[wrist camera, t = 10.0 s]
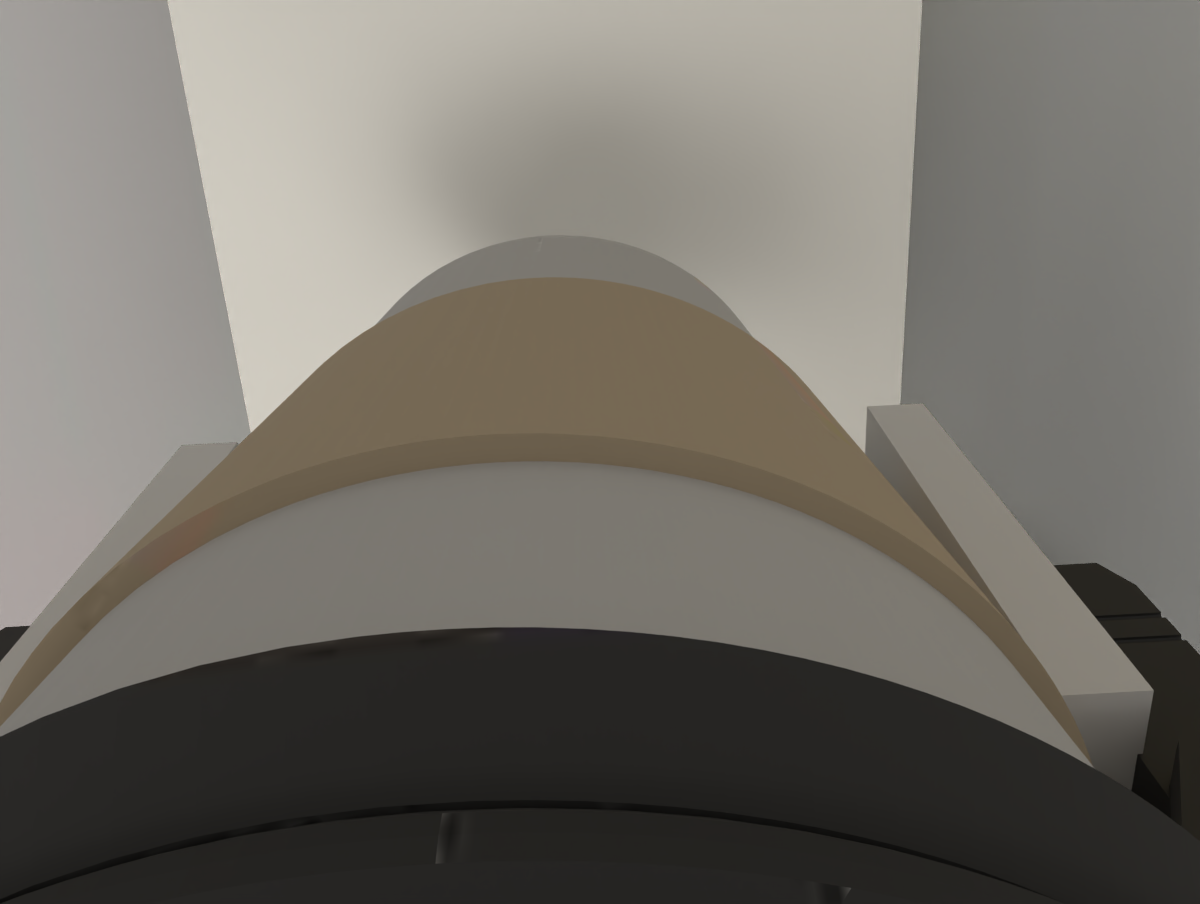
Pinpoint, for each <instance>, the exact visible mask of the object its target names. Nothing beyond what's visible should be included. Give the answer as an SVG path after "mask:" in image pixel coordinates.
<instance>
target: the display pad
mask: <svg viewBox="0 0 1200 904" xmlns="http://www.w3.org/2000/svg"><path fill="white" fill-rule="evenodd" d="M167 1H168V6H169V11H170V17H171V22H172V27H173V32H174V37H175V42H176V48H177V53H178V58H179V63H180V68H181V74H182V79H183V84H184V89H185V94H186V100H187V105H188V110H189V115H190V120H191V125H192V131H193V136H194V141H195V146H196V151H197V157H198V162H199V167H200V172H201V177H202V182H203V188H204V193H205V198H206V203H207V208H208V214H209V219H210V224H211V229H212V234H213V239H214V245H215V250H216V255H217V260H218V265H219V271H220V276H221V281H222V286H223V291H224V296H225V302H226V307H227V312H228V317H229V322H230V328H231V333H232V338H233V343H234V348H235V354H236V359H237V364H238V369H239V374H240V379H241V385H242V390H243V395H244V400H245V405H246V411H247V416H248V421H249V426H250V431H251V432H253V431H254V430H255V429H256V428H257V427H258V426H259V425H260V424H261V423H262V422H263V421H264V420H265V419H266V418H267V417H268V416H269V415H270V414H271V413H272V412H273V411H274V410H275V409H276V408H277V407H278V406H279V405H280V404H281V403H282V402H283V401H285V400H286V399H287V398H288V397H289V396H290V395H291V394H292V393H293V392H294V391H295V390H296V389H297V388H298V387H299V386H300V385H301V384H302V383H303V382H304V381H305V380H306V379H307V378H308V377H309V376H310V375H311V374H312V373H313V372H314V371H315V370H316V369H318V368H319V367H320V366H321V365H322V364H323V363H324V362H325V361H326V360H328V359H329V358H330V357H331V356H332V355H333V354H335V353H336V352H337V351H338V350H339V349H341V348H342V347H343V346H345V345H346V344H347V343H349V342H350V341H352V340H353V339H354V338H356V337H357V336H359V335H360V334H361V333H363V332H365V331H366V330H368V329H370V328H371V327H373V326H375V325H376V324H377V322H378V321H379V320H380V319H381V318H382V317H383V316H384V315H385V314H386V313H387V312H388V311H389V310H390V309H391V307H392V306H393V305H394V304H395V303H396V302H397V301H398V300H399V299H400V298H401V297H402V296H403V295H404V294H406V293H407V292H408V291H409V290H410V289H411V288H412V287H414V286H415V285H416V284H417V283H419V282H420V281H421V280H423V279H424V278H425V277H427V276H428V275H430V274H431V273H433V272H434V271H436V270H438V269H439V268H441V267H443V266H444V265H446V264H448V263H450V262H452V261H454V260H455V259H458V258H460V257H462V256H464V255H467V254H469V253H471V252H474V251H477V250H479V249H482V248H485V247H488V246H491V245H495V244H499V243H502V242H506V241H511V240H516V239H521V238H528V237H537V236H552V235H569V236H585V237H593V238H600V239H606V240H611V241H615V242H619V243H623V244H627V245H630V246H633V247H636V248H639V249H642V250H645V251H647V252H650V253H652V254H655V255H657V256H659V257H661V258H663V259H665V260H667V261H669V262H671V263H673V264H675V265H677V266H679V267H680V268H682V269H683V270H685V271H687V272H688V273H690V274H691V275H693V276H694V277H696V278H697V279H698V280H700V281H701V282H702V283H703V284H705V285H706V286H707V287H708V288H710V289H711V290H712V291H713V292H714V293H715V294H716V295H717V296H719V297H720V298H721V299H722V300H723V301H724V302H725V303H726V305H727V306H728V307H729V308H730V309H731V310H732V311H733V313H734V314H735V315H736V316H737V317H738V319H739V320H740V321H741V322H742V324H743V325H744V326H745V327H746V329H747V330H748V331H749V333H750V334H751V335H752V336H753V338H754V339H756V340H757V341H759V342H760V343H761V344H763V345H764V346H765V347H767V348H768V349H769V350H770V351H772V352H773V353H774V354H775V355H776V356H778V357H779V358H780V359H781V360H782V361H783V362H784V363H785V364H787V365H788V366H789V367H790V368H791V369H792V370H793V371H794V372H795V373H796V374H797V375H798V376H799V377H800V378H801V380H802V381H803V382H804V383H805V384H806V385H807V386H808V387H809V389H810V390H811V391H812V392H813V393H814V394H815V396H816V397H817V398H818V399H819V400H820V402H821V403H822V404H823V405H824V406H825V407H826V409H827V410H828V411H829V412H830V413H831V414H832V416H833V417H834V418H835V419H836V420H837V422H838V423H839V424H840V425H841V426H842V427H843V429H844V430H845V431H846V432H847V433H848V434H849V436H850V437H851V438H852V439H853V440H854V442H855V443H856V444H857V445H858V446H859V447H860V449H861V450H862V451H863V452H864V453H865V442H866V420H867V406H885V405H900V401H901V382H902V364H903V346H904V327H905V309H906V291H907V272H908V254H909V235H910V217H911V199H912V180H913V162H914V144H915V125H916V107H917V88H918V70H919V52H920V33H921V15H922V0H167Z"/></svg>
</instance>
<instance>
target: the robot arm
mask: <svg viewBox="0 0 1200 904" xmlns="http://www.w3.org/2000/svg"><path fill="white" fill-rule="evenodd" d="M237 446H238V443H237V442H230V443H213V444H195V445H182V446H181V447H180V448H179V449H178V450H177V451H176V453H175V454H174V455H173V456H172V457H171V459H170V460H169V461H168V462H167V463H166V465H165V466H164V467H163V468H162V469H161V471H160V472H159V473H158V474H157V475H156V477H155V478H154V479H153V480H152V481H151V483H150V484H149V485H148V486H147V487H146V488H145V490H144V491H143V492H142V493H141V494H140V496H139V497H138V498H137V499H136V500H135V502H134V503H133V504H132V505H131V506H130V508H129V509H128V510H127V511H126V512H125V514H124V515H123V516H122V517H121V518H120V520H119V521H118V522H117V523H116V524H115V525H114V527H113V528H112V529H111V530H110V531H109V533H108V534H107V535H106V536H105V537H104V539H103V540H102V541H101V542H100V543H99V545H98V546H97V547H96V548H95V549H94V551H93V552H92V553H91V554H90V555H89V557H88V558H87V559H86V560H85V561H84V562H83V564H82V565H81V566H80V567H79V568H78V570H77V571H76V572H75V573H74V574H73V576H72V577H71V578H70V579H69V580H68V582H67V583H66V584H65V585H64V586H63V588H62V589H61V590H60V591H59V592H58V594H57V595H56V596H55V597H54V598H53V599H52V601H51V602H50V603H49V604H48V605H47V607H46V608H45V609H44V610H43V611H42V613H41V614H40V615H39V616H38V617H37V619H36V620H35V621H34V622H33V623H32V625H31V626H20V627H5V628H4V629H2V630H1V631H0V702H1V700H2V699H3V697H4V695H5V693H6V692H7V690H8V688H9V686H10V685H11V683H12V681H13V679H14V678H15V676H16V675H17V673H18V672H19V671H20V669H21V668H22V666H23V665H24V663H25V662H26V661H27V659H28V658H29V656H30V655H31V653H32V652H33V651H34V650H35V648H36V647H37V646H38V645H39V643H40V642H41V641H42V640H43V638H44V637H45V636H46V635H47V633H48V632H49V631H50V630H51V629H52V627H53V626H54V625H55V624H56V623H57V622H58V621H59V620H60V619H61V618H62V617H63V616H64V615H65V614H66V613H67V612H68V611H69V610H70V609H71V608H72V607H73V606H74V605H75V603H76V602H77V601H78V600H79V599H80V598H81V597H82V596H83V595H84V594H85V593H86V592H87V591H88V590H89V589H90V588H92V587H93V586H94V585H95V584H96V583H97V582H98V581H99V580H100V579H101V578H102V577H103V576H104V575H105V574H106V573H107V572H108V571H109V570H110V569H111V568H112V567H113V566H114V565H115V564H116V563H117V562H118V561H119V560H120V559H121V558H122V557H124V556H125V555H126V554H127V553H128V552H129V551H130V550H131V549H132V548H133V547H134V546H135V545H136V544H137V543H138V542H139V541H140V540H141V539H142V538H143V537H144V536H145V535H146V534H147V533H148V532H149V531H150V530H151V529H152V528H153V527H154V526H156V525H157V524H158V523H159V522H160V521H161V520H162V519H163V518H164V517H165V516H166V515H167V514H168V513H169V512H170V511H171V510H172V509H173V508H174V507H175V506H176V505H177V504H178V503H179V502H180V501H181V500H182V499H183V498H184V497H185V496H186V495H187V494H189V493H190V492H191V491H192V490H193V489H194V488H195V487H196V486H197V485H198V484H199V483H200V482H201V481H202V480H203V479H204V478H205V477H206V476H207V475H208V474H209V473H210V472H211V471H212V470H213V469H214V468H215V467H216V466H217V465H218V464H219V463H221V462H222V461H223V460H224V459H225V458H226V457H227V456H228V455H229V454H230V453H231V452H232V451H233V450H234V449H235V448H236V447H237ZM865 454H866V456H867V457H868V458H869V459H870V460H871V462H872V463H873V464H874V465H875V466H876V467H877V469H878V470H879V471H880V472H881V473H882V474H883V476H884V477H885V478H886V479H887V480H888V482H889V483H890V484H891V485H892V486H893V487H894V489H895V490H896V491H897V492H898V493H899V494H900V496H901V497H902V498H903V499H904V500H905V502H906V503H907V504H908V505H909V506H910V507H911V509H912V510H913V511H914V512H915V513H916V514H917V516H918V517H919V518H920V519H921V520H922V522H923V523H924V524H925V525H926V526H927V527H928V529H929V530H930V531H931V532H932V533H933V534H934V536H935V537H936V538H937V539H938V540H939V542H940V543H941V544H942V545H943V546H944V547H945V549H946V550H947V551H948V552H949V553H950V555H951V556H952V557H953V558H954V559H955V560H956V562H957V563H958V564H959V565H960V566H961V567H962V569H963V570H964V571H965V572H966V573H967V575H968V576H969V577H970V578H971V579H972V580H973V582H974V583H975V584H976V585H977V586H978V587H979V589H980V590H981V591H982V592H983V593H984V595H985V596H986V597H987V598H988V599H989V600H990V602H991V603H992V604H993V605H994V606H995V607H996V609H997V610H998V611H999V612H1000V613H1001V615H1002V616H1003V617H1004V618H1005V619H1006V620H1007V622H1008V623H1009V624H1010V625H1011V626H1012V627H1013V629H1014V630H1015V631H1016V632H1017V633H1018V635H1019V636H1020V637H1021V638H1022V639H1023V641H1024V642H1025V643H1026V644H1027V646H1028V647H1029V648H1030V649H1031V651H1032V652H1033V653H1034V655H1035V656H1036V657H1037V659H1038V660H1039V662H1040V663H1041V664H1042V666H1043V667H1044V669H1045V670H1046V672H1047V673H1048V675H1049V676H1050V678H1051V679H1052V681H1053V682H1054V684H1055V685H1056V687H1057V689H1058V691H1059V692H1060V694H1061V696H1062V697H1063V699H1064V701H1065V703H1066V705H1067V707H1068V708H1069V710H1070V712H1071V714H1072V716H1073V718H1074V720H1075V722H1076V725H1077V727H1078V729H1079V731H1080V733H1081V735H1082V738H1083V741H1084V743H1085V746H1086V748H1087V751H1088V753H1089V756H1090V759H1091V762H1092V765H1093V767H1094V768H1095V769H1096V770H1098V771H1100V772H1102V773H1103V774H1105V775H1106V776H1108V777H1110V778H1111V779H1113V780H1114V781H1116V782H1118V783H1119V784H1121V785H1123V786H1124V787H1126V788H1127V789H1129V790H1131V791H1132V792H1134V793H1135V794H1137V795H1138V796H1139V797H1141V798H1142V799H1144V800H1145V801H1147V802H1148V803H1150V804H1151V805H1153V806H1154V807H1156V808H1157V809H1159V810H1160V811H1161V812H1163V813H1164V814H1165V815H1167V816H1168V817H1169V818H1171V819H1172V820H1173V821H1175V822H1176V823H1177V824H1179V825H1180V826H1181V827H1183V828H1184V829H1185V830H1186V831H1188V832H1189V833H1190V834H1191V835H1193V836H1194V837H1195V838H1196V839H1197V840H1199V841H1200V655H1199V654H1198V653H1197V651H1196V650H1195V649H1194V648H1193V647H1192V646H1191V645H1190V644H1189V643H1188V642H1187V641H1186V640H1182V639H1181V634H1180V633H1179V632H1178V631H1177V630H1176V628H1175V627H1174V626H1173V625H1172V624H1171V623H1170V622H1169V621H1168V620H1167V619H1166V618H1161V612H1160V611H1159V610H1158V609H1157V608H1156V607H1155V605H1154V604H1153V603H1152V602H1151V601H1150V600H1149V599H1148V598H1147V597H1146V596H1145V595H1144V593H1143V592H1142V591H1141V590H1140V589H1139V588H1138V587H1137V586H1136V585H1135V584H1133V583H1131V582H1129V581H1127V580H1126V579H1124V578H1122V577H1120V576H1119V575H1117V574H1115V573H1113V572H1111V571H1110V570H1108V569H1106V568H1104V567H1103V566H1101V565H1099V564H1097V563H1088V564H1070V565H1053V564H1052V563H1051V562H1050V561H1049V559H1048V558H1047V557H1046V556H1045V554H1044V553H1043V552H1042V551H1041V549H1040V548H1039V547H1038V546H1037V545H1036V543H1035V542H1034V541H1033V540H1032V538H1031V537H1030V536H1029V535H1028V533H1027V532H1026V531H1025V530H1024V528H1023V527H1022V526H1021V525H1020V523H1019V522H1018V521H1017V520H1016V518H1015V517H1014V516H1013V515H1012V513H1011V512H1010V511H1009V510H1008V508H1007V507H1006V506H1005V505H1004V503H1003V502H1002V501H1001V500H1000V499H999V497H998V496H997V495H996V494H995V492H994V491H993V490H992V489H991V487H990V486H989V485H988V484H987V482H986V481H985V480H984V479H983V477H982V476H981V475H980V474H979V472H978V471H977V470H976V469H975V467H974V466H973V465H972V464H971V462H970V461H969V460H968V459H967V457H966V456H965V455H964V454H963V453H962V451H961V450H960V449H959V448H958V446H957V445H956V444H955V443H954V441H953V440H952V439H951V438H950V436H949V435H948V434H947V433H946V431H945V430H944V429H943V428H942V426H941V425H940V424H939V423H938V421H937V420H936V419H935V418H934V416H933V415H932V414H931V413H930V411H929V410H928V409H927V408H926V407H925V405H924V404H923V403H920V404H902V405H885V406H867V420H866V442H865Z"/></svg>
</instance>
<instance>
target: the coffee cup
mask: <svg viewBox="0 0 1200 904" xmlns="http://www.w3.org/2000/svg"><path fill="white" fill-rule="evenodd" d="M0 904H1200V841H1199V840H1197V839H1196V838H1195V837H1194V836H1193V835H1191V834H1190V833H1189V832H1188V831H1186V830H1185V829H1184V828H1183V827H1181V826H1180V825H1179V824H1177V823H1176V822H1175V821H1173V820H1172V819H1171V818H1169V817H1168V816H1167V815H1165V814H1164V813H1163V812H1161V811H1160V810H1159V809H1157V808H1156V807H1154V806H1153V805H1151V804H1150V803H1148V802H1147V801H1145V800H1144V799H1142V798H1141V797H1139V796H1138V795H1137V794H1135V793H1134V792H1132V791H1131V790H1129V789H1127V788H1126V787H1124V786H1123V785H1121V784H1119V783H1118V782H1116V781H1114V780H1113V779H1111V778H1110V777H1108V776H1106V775H1105V774H1103V773H1102V772H1100V771H1098V770H1096V769H1095V768H1094V767H1093V765H1092V762H1091V759H1090V756H1089V753H1088V751H1087V748H1086V746H1085V743H1084V741H1083V738H1082V735H1081V733H1080V731H1079V729H1078V727H1077V725H1076V722H1075V720H1074V718H1073V716H1072V714H1071V712H1070V710H1069V708H1068V707H1067V705H1066V703H1065V701H1064V699H1063V697H1062V696H1061V694H1060V692H1059V691H1058V689H1057V687H1056V685H1055V684H1054V682H1053V681H1052V679H1051V678H1050V676H1049V675H1048V673H1047V672H1046V670H1045V669H1044V667H1043V666H1042V664H1041V663H1040V662H1039V660H1038V659H1037V657H1036V656H1035V655H1034V653H1033V652H1032V651H1031V649H1030V648H1029V647H1028V646H1027V644H1026V643H1025V642H1024V641H1023V639H1022V638H1021V637H1020V636H1019V635H1018V633H1017V632H1016V631H1015V630H1014V629H1013V627H1012V626H1011V625H1010V624H1009V623H1008V622H1007V620H1006V619H1005V618H1004V617H1003V616H1002V615H1001V613H1000V612H999V611H998V610H997V609H996V607H995V606H994V605H993V604H992V603H991V602H990V600H989V599H988V598H987V597H986V596H985V595H984V593H983V592H982V591H981V590H980V589H979V587H978V586H977V585H976V584H975V583H974V582H973V580H972V579H971V578H970V577H969V576H968V575H967V573H966V572H965V571H964V570H963V569H962V567H961V566H960V565H959V564H958V563H957V562H956V560H955V559H954V558H953V557H952V556H951V555H950V553H949V552H948V551H947V550H946V549H945V547H944V546H943V545H942V544H941V543H940V542H939V540H938V539H937V538H936V537H935V536H934V534H933V533H932V532H931V531H930V530H929V529H928V527H927V526H926V525H925V524H924V523H923V522H922V520H921V519H920V518H919V517H918V516H917V514H916V513H915V512H914V511H913V510H912V509H911V507H910V506H909V505H908V504H907V503H906V502H905V500H904V499H903V498H902V497H901V496H900V494H899V493H898V492H897V491H896V490H895V489H894V487H893V486H892V485H891V484H890V483H889V482H888V480H887V479H886V478H885V477H884V476H883V474H882V473H881V472H880V471H879V470H878V469H877V467H876V466H875V465H874V464H873V463H872V462H871V460H870V459H869V458H868V457H867V456H866V454H865V453H864V452H863V451H862V450H861V449H860V447H859V446H858V445H857V444H856V443H855V442H854V440H853V439H852V438H851V437H850V436H849V434H848V433H847V432H846V431H845V430H844V429H843V427H842V426H841V425H840V424H839V423H838V422H837V420H836V419H835V418H834V417H833V416H832V414H831V413H830V412H829V411H828V410H827V409H826V407H825V406H824V405H823V404H822V403H821V402H820V400H819V399H818V398H817V397H816V396H815V394H814V393H813V392H812V391H811V390H810V389H809V387H808V386H807V385H806V384H805V383H804V382H803V381H802V380H801V378H800V377H799V376H798V375H797V374H796V373H795V372H794V371H793V370H792V369H791V368H790V367H789V366H788V365H787V364H785V363H784V362H783V361H782V360H781V359H780V358H779V357H778V356H776V355H775V354H774V353H773V352H772V351H770V350H769V349H768V348H767V347H765V346H764V345H763V344H761V343H760V342H759V341H757V340H756V339H754V338H753V336H752V335H751V334H750V333H749V331H748V330H747V329H746V327H745V326H744V325H743V324H742V322H741V321H740V320H739V319H738V317H737V316H736V315H735V314H734V313H733V311H732V310H731V309H730V308H729V307H728V306H727V305H726V303H725V302H724V301H723V300H722V299H721V298H720V297H719V296H717V295H716V294H715V293H714V292H713V291H712V290H711V289H710V288H708V287H707V286H706V285H705V284H703V283H702V282H701V281H700V280H698V279H697V278H696V277H694V276H693V275H691V274H690V273H688V272H687V271H685V270H683V269H682V268H680V267H679V266H677V265H675V264H673V263H671V262H669V261H667V260H665V259H663V258H661V257H659V256H657V255H655V254H652V253H650V252H647V251H645V250H642V249H639V248H636V247H633V246H630V245H627V244H623V243H619V242H615V241H611V240H606V239H600V238H593V237H585V236H569V235H552V236H537V237H528V238H521V239H516V240H511V241H506V242H502V243H499V244H495V245H491V246H488V247H485V248H482V249H479V250H477V251H474V252H471V253H469V254H467V255H464V256H462V257H460V258H458V259H455V260H454V261H452V262H450V263H448V264H446V265H444V266H443V267H441V268H439V269H438V270H436V271H434V272H433V273H431V274H430V275H428V276H427V277H425V278H424V279H423V280H421V281H420V282H419V283H417V284H416V285H415V286H414V287H412V288H411V289H410V290H409V291H408V292H407V293H406V294H404V295H403V296H402V297H401V298H400V299H399V300H398V301H397V302H396V303H395V304H394V305H393V306H392V307H391V309H390V310H389V311H388V312H387V313H386V314H385V315H384V316H383V317H382V318H381V319H380V320H379V321H378V322H377V324H376V325H375V326H373V327H371V328H370V329H368V330H366V331H365V332H363V333H361V334H360V335H359V336H357V337H356V338H354V339H353V340H352V341H350V342H349V343H347V344H346V345H345V346H343V347H342V348H341V349H339V350H338V351H337V352H336V353H335V354H333V355H332V356H331V357H330V358H329V359H328V360H326V361H325V362H324V363H323V364H322V365H321V366H320V367H319V368H318V369H316V370H315V371H314V372H313V373H312V374H311V375H310V376H309V377H308V378H307V379H306V380H305V381H304V382H303V383H302V384H301V385H300V386H299V387H298V388H297V389H296V390H295V391H294V392H293V393H292V394H291V395H290V396H289V397H288V398H287V399H286V400H285V401H283V402H282V403H281V404H280V405H279V406H278V407H277V408H276V409H275V410H274V411H273V412H272V413H271V414H270V415H269V416H268V417H267V418H266V419H265V420H264V421H263V422H262V423H261V424H260V425H259V426H258V427H257V428H256V429H255V430H254V431H253V432H251V433H250V434H249V435H248V436H247V437H246V438H245V439H244V440H243V441H242V442H241V443H240V444H239V445H238V446H237V447H236V448H235V449H234V450H233V451H232V452H231V453H230V454H229V455H228V456H227V457H226V458H225V459H224V460H223V461H222V462H221V463H219V464H218V465H217V466H216V467H215V468H214V469H213V470H212V471H211V472H210V473H209V474H208V475H207V476H206V477H205V478H204V479H203V480H202V481H201V482H200V483H199V484H198V485H197V486H196V487H195V488H194V489H193V490H192V491H191V492H190V493H189V494H187V495H186V496H185V497H184V498H183V499H182V500H181V501H180V502H179V503H178V504H177V505H176V506H175V507H174V508H173V509H172V510H171V511H170V512H169V513H168V514H167V515H166V516H165V517H164V518H163V519H162V520H161V521H160V522H159V523H158V524H157V525H156V526H154V527H153V528H152V529H151V530H150V531H149V532H148V533H147V534H146V535H145V536H144V537H143V538H142V539H141V540H140V541H139V542H138V543H137V544H136V545H135V546H134V547H133V548H132V549H131V550H130V551H129V552H128V553H127V554H126V555H125V556H124V557H122V558H121V559H120V560H119V561H118V562H117V563H116V564H115V565H114V566H113V567H112V568H111V569H110V570H109V571H108V572H107V573H106V574H105V575H104V576H103V577H102V578H101V579H100V580H99V581H98V582H97V583H96V584H95V585H94V586H93V587H92V588H90V589H89V590H88V591H87V592H86V593H85V594H84V595H83V596H82V597H81V598H80V599H79V600H78V601H77V602H76V603H75V605H74V606H73V607H72V608H71V609H70V610H69V611H68V612H67V613H66V614H65V615H64V616H63V617H62V618H61V619H60V620H59V621H58V622H57V623H56V624H55V625H54V626H53V627H52V629H51V630H50V631H49V632H48V633H47V635H46V636H45V637H44V638H43V640H42V641H41V642H40V643H39V645H38V646H37V647H36V648H35V650H34V651H33V652H32V653H31V655H30V656H29V658H28V659H27V661H26V662H25V663H24V665H23V666H22V668H21V669H20V671H19V672H18V673H17V675H16V676H15V678H14V679H13V681H12V683H11V685H10V686H9V688H8V690H7V692H6V693H5V695H4V697H3V699H2V700H1V702H0Z"/></svg>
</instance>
